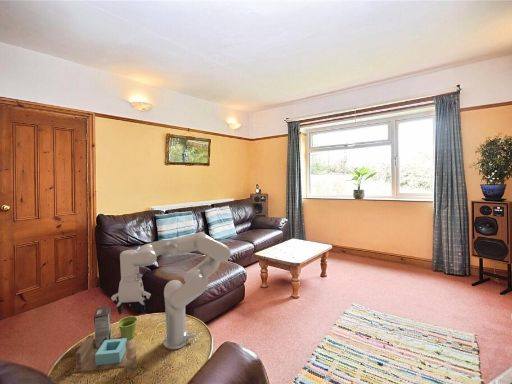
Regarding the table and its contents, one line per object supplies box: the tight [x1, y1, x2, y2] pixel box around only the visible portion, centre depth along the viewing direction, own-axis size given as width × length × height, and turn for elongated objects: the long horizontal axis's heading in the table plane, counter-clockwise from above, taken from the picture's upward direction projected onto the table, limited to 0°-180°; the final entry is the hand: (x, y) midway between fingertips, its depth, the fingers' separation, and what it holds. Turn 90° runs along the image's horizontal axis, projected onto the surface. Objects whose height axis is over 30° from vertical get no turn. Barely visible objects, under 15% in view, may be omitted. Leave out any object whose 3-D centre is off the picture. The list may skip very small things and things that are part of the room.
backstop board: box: [73, 335, 127, 374], centre depth 119 cm, size 21×14×8 cm, turn 99°
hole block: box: [95, 337, 128, 365], centre depth 120 cm, size 10×10×5 cm
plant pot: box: [117, 315, 138, 341], centre depth 135 cm, size 9×9×9 cm
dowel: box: [125, 338, 138, 372], centre depth 113 cm, size 4×4×12 cm
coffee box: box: [93, 305, 113, 349], centre depth 131 cm, size 9×6×16 cm
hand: (132, 312), depth 120 cm, fingers open, 9 cm apart
